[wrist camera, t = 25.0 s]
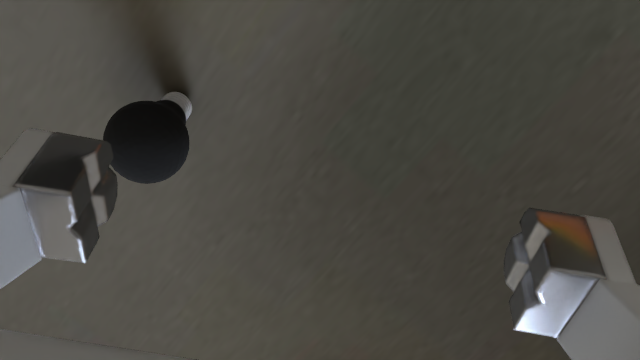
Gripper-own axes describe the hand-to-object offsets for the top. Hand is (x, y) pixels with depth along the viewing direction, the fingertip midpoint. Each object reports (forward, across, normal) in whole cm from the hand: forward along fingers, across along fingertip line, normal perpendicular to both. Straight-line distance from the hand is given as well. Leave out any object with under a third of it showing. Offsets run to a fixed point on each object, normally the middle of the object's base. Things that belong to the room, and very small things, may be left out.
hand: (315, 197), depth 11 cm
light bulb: (+30, +12, +20) cm, 38 cm away
